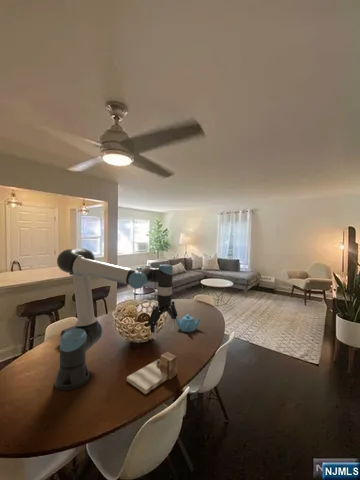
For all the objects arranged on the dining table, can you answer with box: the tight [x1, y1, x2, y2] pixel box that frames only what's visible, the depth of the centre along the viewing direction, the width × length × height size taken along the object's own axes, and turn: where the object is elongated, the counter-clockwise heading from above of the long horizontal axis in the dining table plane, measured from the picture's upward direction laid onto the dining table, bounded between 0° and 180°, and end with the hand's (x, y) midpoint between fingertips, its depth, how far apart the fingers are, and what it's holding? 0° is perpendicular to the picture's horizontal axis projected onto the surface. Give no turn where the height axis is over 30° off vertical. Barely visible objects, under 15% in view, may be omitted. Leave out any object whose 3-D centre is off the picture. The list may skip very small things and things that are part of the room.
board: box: [126, 358, 169, 395], centre depth 116 cm, size 22×14×2 cm, turn 141°
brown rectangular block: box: [156, 351, 178, 380], centre depth 119 cm, size 5×12×10 cm, turn 50°
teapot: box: [175, 313, 201, 333], centre depth 176 cm, size 15×15×11 cm
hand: (162, 334), depth 119 cm, fingers open, 13 cm apart
